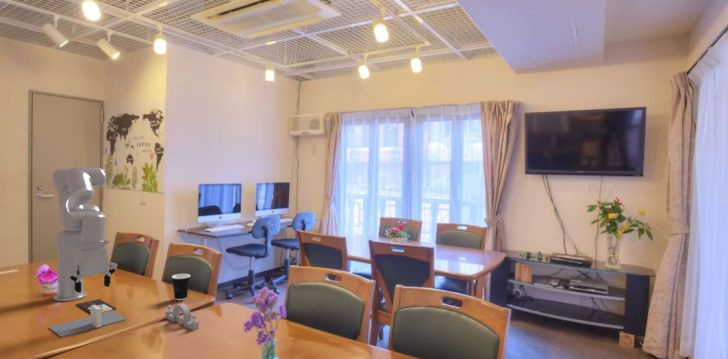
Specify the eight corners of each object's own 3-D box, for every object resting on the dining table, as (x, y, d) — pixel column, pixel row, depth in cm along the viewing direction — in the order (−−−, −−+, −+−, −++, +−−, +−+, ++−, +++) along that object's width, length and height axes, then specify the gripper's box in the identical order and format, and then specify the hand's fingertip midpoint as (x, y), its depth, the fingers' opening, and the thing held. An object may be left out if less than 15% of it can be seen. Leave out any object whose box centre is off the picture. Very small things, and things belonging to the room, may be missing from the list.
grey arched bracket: (165, 319, 166) (165, 300, 166) (170, 317, 168) (171, 298, 168) (193, 331, 155) (193, 310, 155) (198, 329, 157) (198, 309, 156)
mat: (48, 328, 153) (48, 327, 153) (112, 312, 171) (112, 311, 171) (61, 337, 146) (61, 336, 146) (126, 319, 163) (126, 318, 163)
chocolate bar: (99, 299, 185) (116, 308, 174) (99, 301, 185) (116, 310, 175) (76, 304, 178) (92, 313, 167) (76, 306, 178) (92, 316, 167)
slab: (90, 305, 157) (96, 309, 154) (95, 304, 159) (102, 308, 155) (90, 323, 157) (96, 327, 154) (95, 322, 159) (102, 326, 155)
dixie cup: (171, 302, 184) (171, 278, 184) (171, 297, 192) (172, 274, 191) (190, 301, 187) (190, 277, 187) (190, 295, 195) (190, 273, 194)
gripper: (113, 241, 167) (112, 282, 167) (63, 247, 153) (62, 292, 153) (121, 243, 162) (121, 286, 163) (70, 250, 148) (70, 296, 149)
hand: (92, 288), depth 158 cm, fingers open, 9 cm apart
